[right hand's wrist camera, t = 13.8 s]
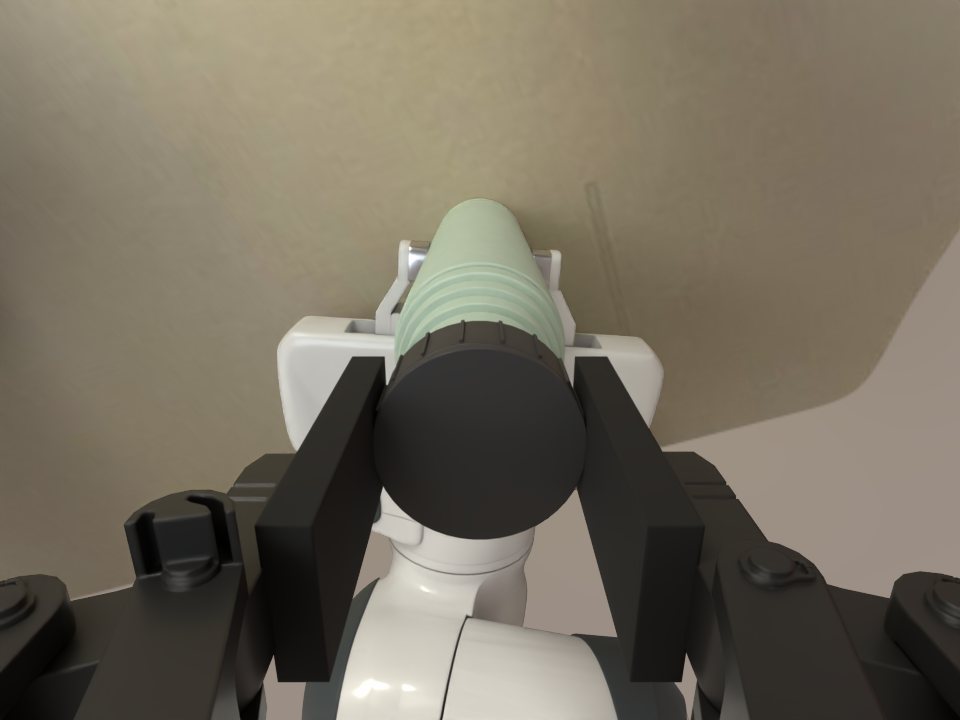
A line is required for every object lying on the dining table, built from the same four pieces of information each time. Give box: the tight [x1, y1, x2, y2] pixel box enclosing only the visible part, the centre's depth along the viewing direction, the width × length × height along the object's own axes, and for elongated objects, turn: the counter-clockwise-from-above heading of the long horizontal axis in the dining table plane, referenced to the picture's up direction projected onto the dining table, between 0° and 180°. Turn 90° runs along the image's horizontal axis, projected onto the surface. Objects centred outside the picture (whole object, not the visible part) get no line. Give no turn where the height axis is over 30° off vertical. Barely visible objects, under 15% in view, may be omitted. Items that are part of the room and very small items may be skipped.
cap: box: [373, 320, 587, 540], centre depth 14 cm, size 5×5×2 cm
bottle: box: [394, 198, 565, 364], centre depth 25 cm, size 5×5×26 cm
